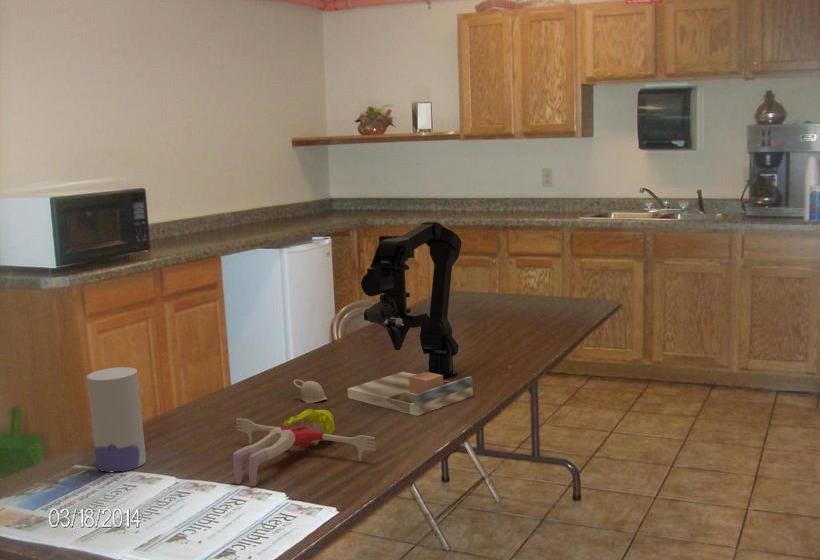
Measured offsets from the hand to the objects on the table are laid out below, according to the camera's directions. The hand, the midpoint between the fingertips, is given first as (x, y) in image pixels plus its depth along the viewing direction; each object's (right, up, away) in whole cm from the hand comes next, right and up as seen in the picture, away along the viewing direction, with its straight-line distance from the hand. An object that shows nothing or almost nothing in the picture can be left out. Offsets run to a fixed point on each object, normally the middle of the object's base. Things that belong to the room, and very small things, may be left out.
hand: (397, 349), depth 227 cm
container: (-58, -21, -39) cm, 73 cm away
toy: (-22, -20, -41) cm, 51 cm away
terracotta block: (+7, -10, -5) cm, 14 cm away
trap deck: (+3, -12, -1) cm, 12 cm away
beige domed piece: (-22, -13, +1) cm, 26 cm away
